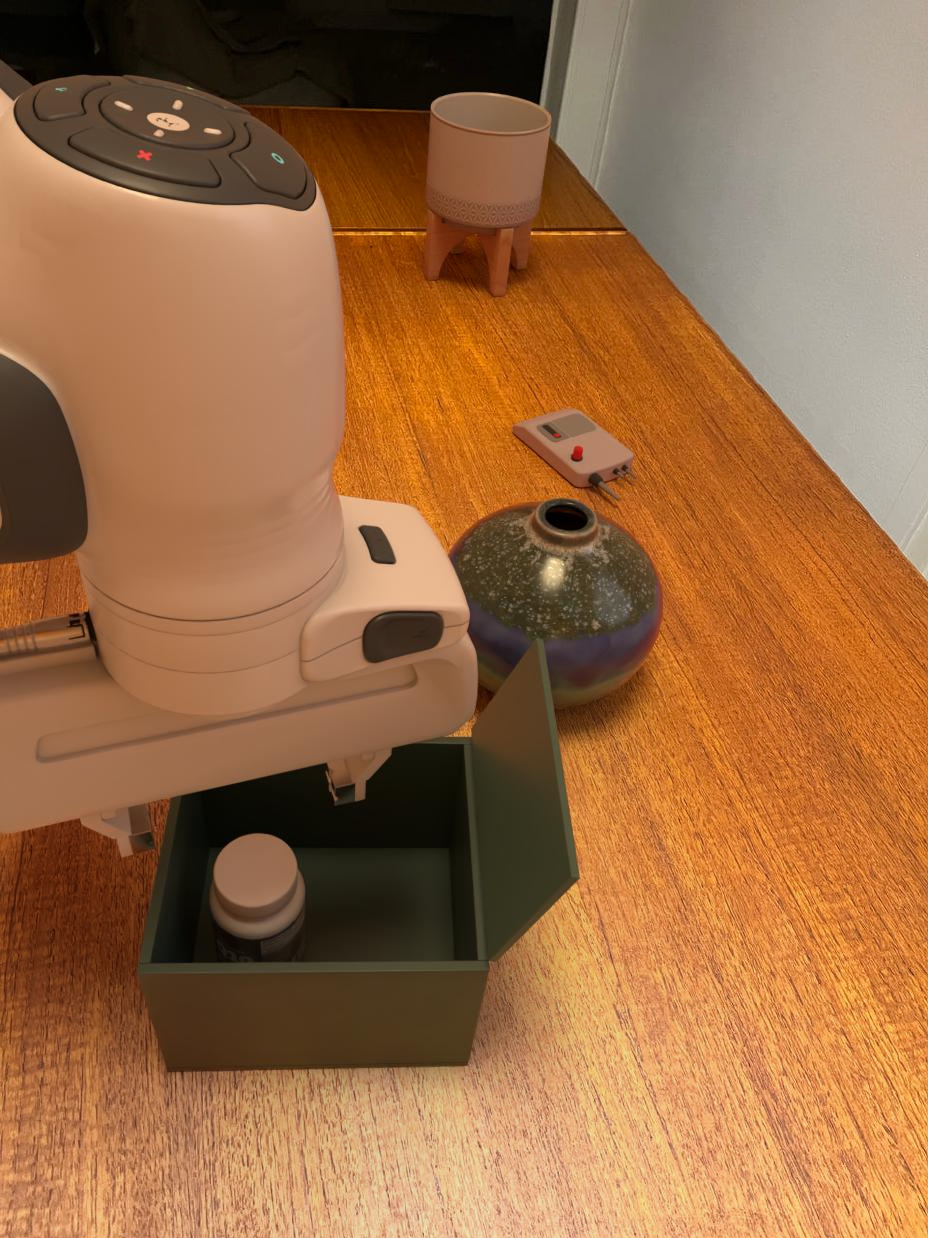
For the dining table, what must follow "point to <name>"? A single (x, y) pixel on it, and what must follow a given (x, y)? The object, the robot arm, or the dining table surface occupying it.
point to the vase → (558, 596)
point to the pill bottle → (257, 902)
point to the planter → (484, 179)
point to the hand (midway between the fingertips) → (244, 815)
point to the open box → (329, 922)
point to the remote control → (577, 448)
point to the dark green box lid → (521, 805)
